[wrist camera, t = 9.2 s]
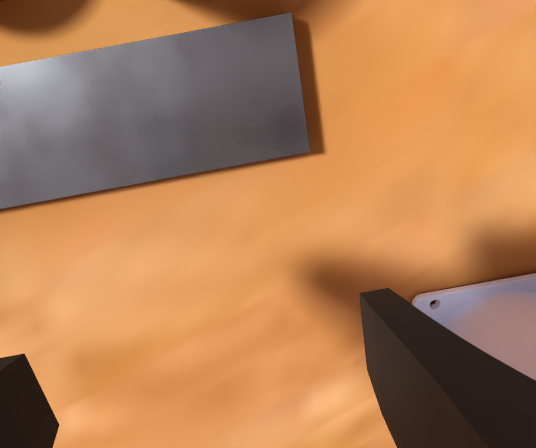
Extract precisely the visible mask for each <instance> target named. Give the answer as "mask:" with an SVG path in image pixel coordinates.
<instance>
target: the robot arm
mask: <svg viewBox="0 0 536 448" xmlns="http://www.w3.org/2000/svg"><path fill="white" fill-rule="evenodd" d="M359 295H360V305H361V314H362V324H363V334H364V343H365V353H366V362H367V371H368V374H369V377H370V380H371V383H372V386H373V389H374V392H375V395H376V398H377V401H378V404H379V407H380V410H381V412H382V415H383V417H384V420H385V422H386V424H387V426H388V428H389V431H390V433H391V435H392V437H393V439H394V442H395V444H396V446H397V448H536V273H534V274H528V275H522V276H517V277H511V278H506V279H500V280H495V281H489V282H484V283H478V284H473V285H467V286H461V287H456V288H450V289H445V290H439V291H434V292H428V293H423V294H419V295H417V296H416V297H415V298H414V299H413V301H412V304H410V303H409V302H407V301H406V300H405V299H403V298H402V297H400V296H399V295H397V294H396V293H395V292H393V291H392V290H390V289H389V288H386V289H380V290H375V291H369V292H363V293H359ZM433 300H437V301H436V302H435V303H434V304H432V305H430V303H431V302H432V301H433ZM58 427H59V423H58V421H57V419H56V417H55V415H54V413H53V411H52V409H51V407H50V405H49V403H48V401H47V399H46V397H45V395H44V393H43V391H42V389H41V387H40V385H39V383H38V380H37V378H36V376H35V374H34V372H33V370H32V368H31V366H30V364H29V362H28V360H27V358H26V356H25V354H20V355H15V356H9V357H4V358H0V448H53V444H54V441H55V437H56V434H57V431H58Z"/></svg>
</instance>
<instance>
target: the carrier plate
mask: <svg viewBox="0 0 536 448" xmlns="http://www.w3.org/2000/svg"><path fill="white" fill-rule="evenodd" d="M0 1H2V0H0ZM307 152H310V147H309V139H308V132H307V124H306V117H305V110H304V102H303V95H302V87H301V80H300V73H299V65H298V58H297V51H296V43H295V36H294V28H293V21H292V14H291V13H286V14H281V15H275V16H270V17H265V18H259V19H254V20H249V21H243V22H238V23H233V24H227V25H222V26H217V27H211V28H206V29H201V30H195V31H190V32H185V33H179V34H174V35H169V36H163V37H158V38H153V39H147V40H142V41H137V42H131V43H126V44H121V45H115V46H110V47H105V48H99V49H94V50H89V51H83V52H78V53H73V54H67V55H62V56H57V57H51V58H46V59H41V60H35V61H30V62H25V63H19V64H14V65H9V66H3V67H0V209H3V208H8V207H13V206H19V205H24V204H30V203H35V202H41V201H46V200H51V199H57V198H62V197H68V196H73V195H79V194H84V193H90V192H95V191H100V190H106V189H111V188H117V187H122V186H128V185H133V184H138V183H144V182H149V181H155V180H160V179H166V178H171V177H176V176H182V175H187V174H193V173H198V172H204V171H209V170H214V169H220V168H225V167H231V166H236V165H242V164H247V163H252V162H258V161H263V160H269V159H274V158H280V157H285V156H290V155H296V154H301V153H307Z"/></svg>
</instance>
